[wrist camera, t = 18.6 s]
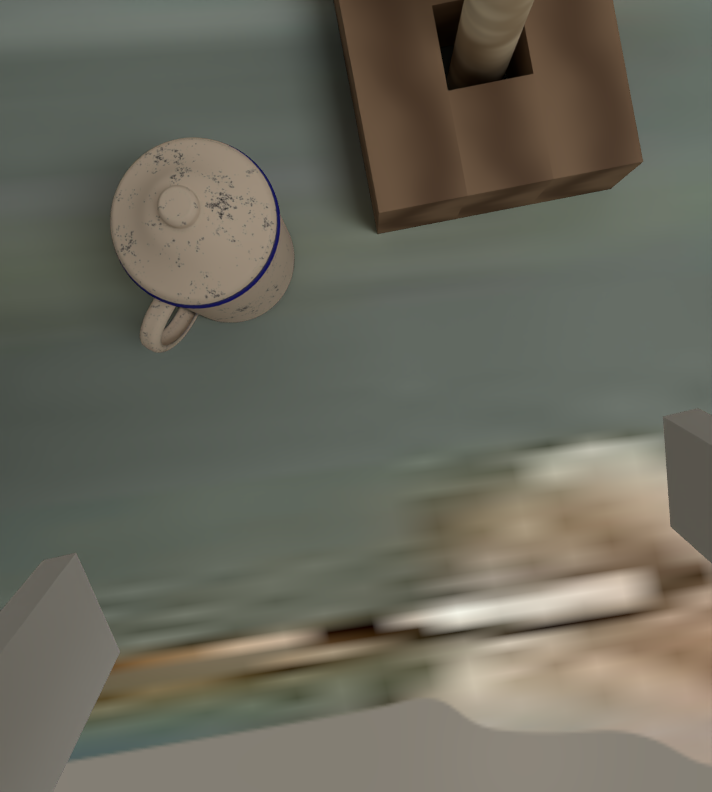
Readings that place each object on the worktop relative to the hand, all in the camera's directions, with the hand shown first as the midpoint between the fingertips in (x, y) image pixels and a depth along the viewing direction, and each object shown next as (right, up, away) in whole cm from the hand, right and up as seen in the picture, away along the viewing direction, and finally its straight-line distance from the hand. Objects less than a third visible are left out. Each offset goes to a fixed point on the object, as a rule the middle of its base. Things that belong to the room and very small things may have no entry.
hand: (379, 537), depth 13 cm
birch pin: (+7, +25, +26) cm, 36 cm away
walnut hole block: (+7, +25, +26) cm, 36 cm away
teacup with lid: (-10, +11, +27) cm, 30 cm away
